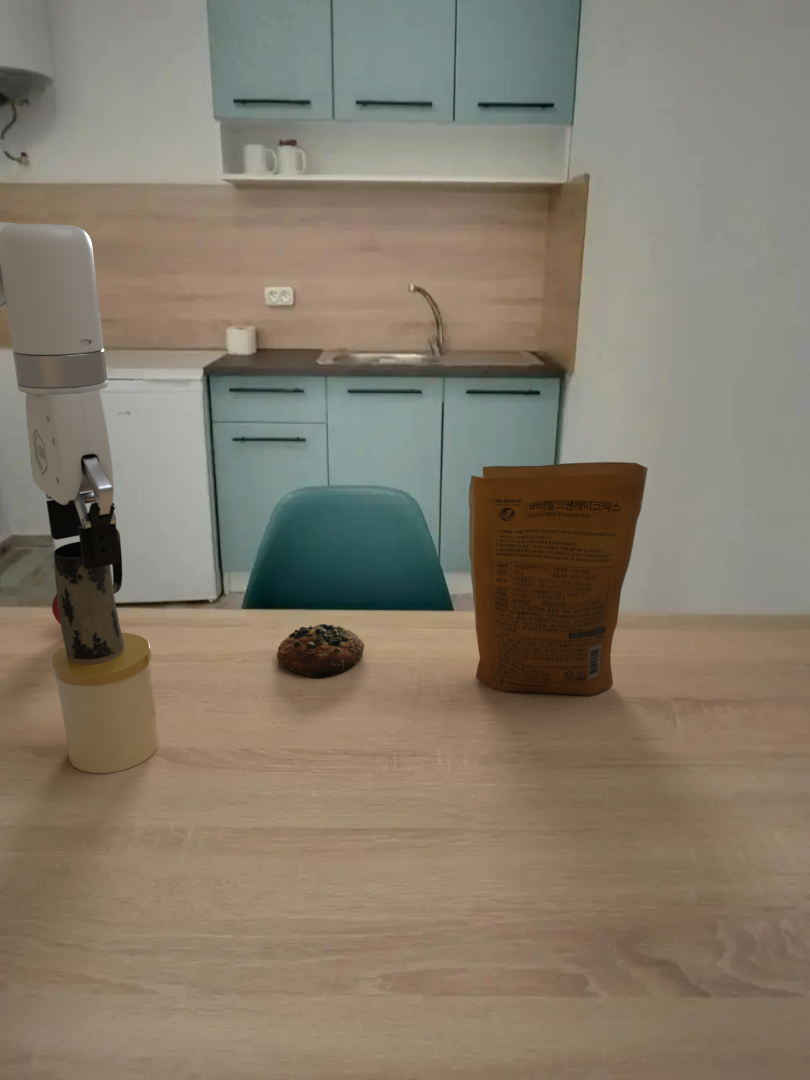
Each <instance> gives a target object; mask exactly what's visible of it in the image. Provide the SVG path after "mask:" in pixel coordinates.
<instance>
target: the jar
mask: <svg viewBox="0 0 810 1080" xmlns="http://www.w3.org/2000/svg"><path fill="white" fill-rule="evenodd" d="M121 633H122V637H123V641H124V646H125V650H124V652H123V653H122V654H121V655H120V656H118V657H116V658H115V659H112V660H110V661H107V662H103V663H99V664H92V665H82V664H76V663H72V662H71V661H69V660H68V658H67V652H66V647H65V645H63V646H61V647H60V648H59V649H58V650H56V651H55V653H54V654H53V655H52V658H51V667H52V668H51V669H52V673H53V676H54V677H55V679H56V685H57V691H58V697H59V703H60V709H61V715H62V721H63V722H62V723H63V728H64V735H65V741H66V747H67V754H68V758H69V761H70V764H71V765H72V766H73V767H75V768H76V769H77V770H79V771H81V772H85V773H90V774H110V773H117V772H121V771H125V770H129V769H131V768H133V767H136V766H138V765H140V764H142V763H144V762H145V761H146V760H148V759H149V758H150V757H152V756H153V755H154V753H155V752H156V751H157V750H158V748H159V745H160V736H159V735H160V734H159V728H158V719H157V712H156V711H157V710H156V702H155V693H154V686H153V685H154V684H153V676H152V669H151V667H152V666H151V660H152V650H151V645H150V642H149V641H148V640H147V639H146V638H145V637H143V636H141V635H138V634H134V633H129V632H121Z"/></svg>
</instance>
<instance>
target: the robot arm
mask: <svg viewBox="0 0 810 1080" xmlns="http://www.w3.org/2000/svg"><path fill="white" fill-rule="evenodd" d="M94 256H95V255H94V249H93V243H92V239H91V237H90V236H89V234H88V233H87V232H86V231H85V230H84V229H83V228H81V227H78V226H76V225H72V224H71V225H70V224H55V223H15V222H7V221H0V310H6V313H7V320H8V328H9V336H10V340H11V348H12V355H13V363H14V370H15V375H16V383H17V389H18V391H19V392H21V393H25V411H26V414H25V415H26V426H27V437H28V446H29V448H28V449H29V455H30V456H29V457H30V466H31V475H32V481H33V482H34V485H35V486H37V487H38V489H40V490H41V491H42V492H43V493H45V497H46V499H47V500H46V507H47V515H48V523H49V529H50V530H49V531H50V536H51V538H52V539H54V540H56V541H57V540H63V539H68V538H74V537H79V538H78V539H79V542H80V545H81V553H82V561H83V566H84V567H85V568H86V569H93V568H98V567H102V566H107V565H110V566H111V565H112V564H116V563H118V562H119V560H120V557H119V548H118V539H117V530H118V529H117V518H116V517H117V516H116V513H115V510H116V506H115V505H116V504H115V503H114V502H113V500H114V488H115V487H114V485H115V484H114V468H113V460H112V451H111V447H110V439H109V433H108V427H107V421H106V416H105V410H104V405H103V400H102V396H101V395H102V394H101V391H100V390H103V389H106V388H108V385H109V384H108V383H109V382H108V373H107V365H106V357H105V356H106V355H105V348H104V337H103V330H102V320H101V310H100V303H99V295H98V294H99V293H98V285H97V283H98V282H97V274H96V266H95V257H94ZM87 504H90V506H89V510H88V508H87ZM116 529H117V530H116Z"/></svg>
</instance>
